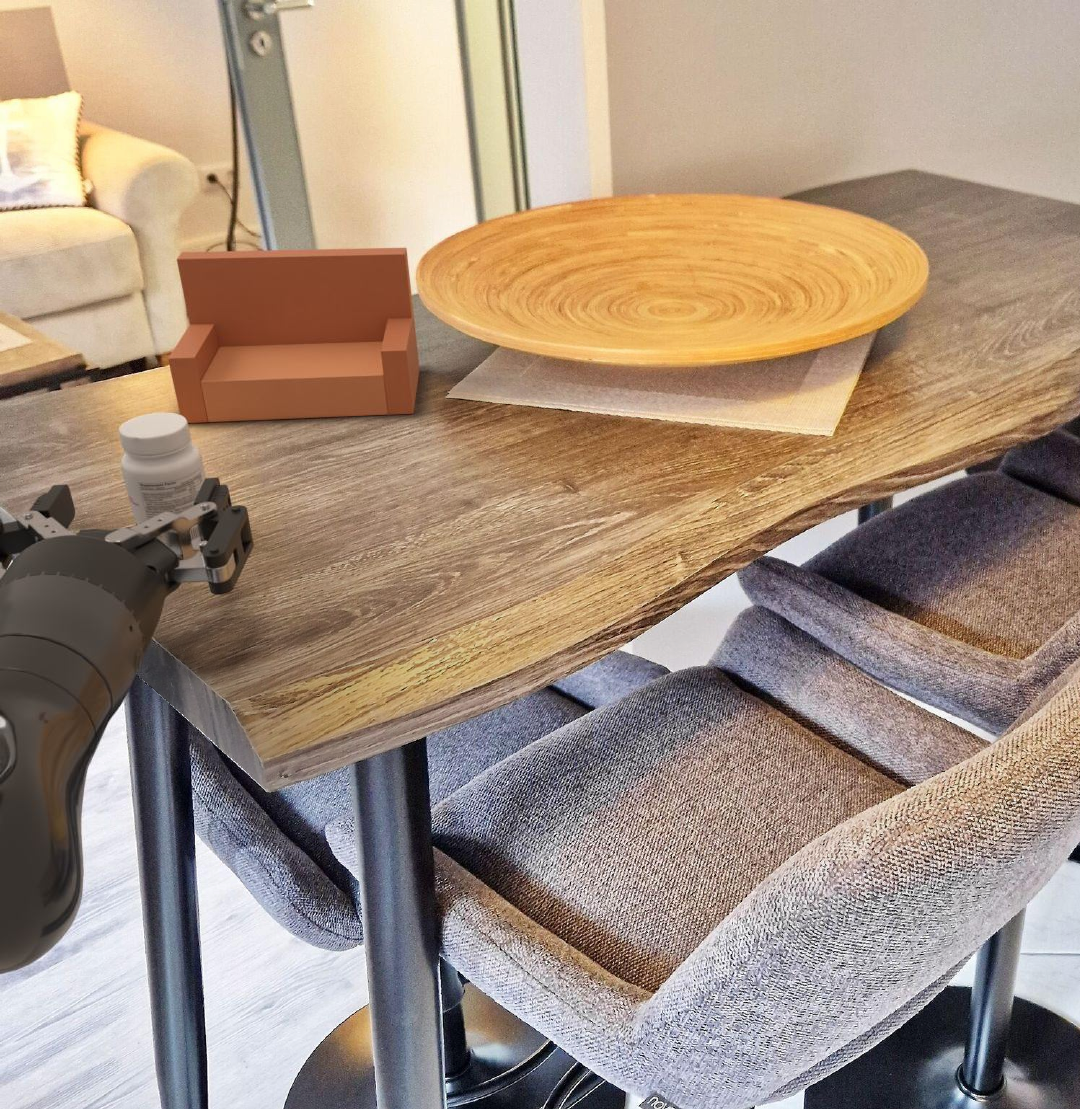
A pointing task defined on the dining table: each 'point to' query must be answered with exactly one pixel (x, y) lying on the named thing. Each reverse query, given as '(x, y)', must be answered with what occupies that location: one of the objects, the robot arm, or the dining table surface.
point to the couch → (296, 335)
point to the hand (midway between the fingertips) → (141, 494)
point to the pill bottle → (160, 466)
